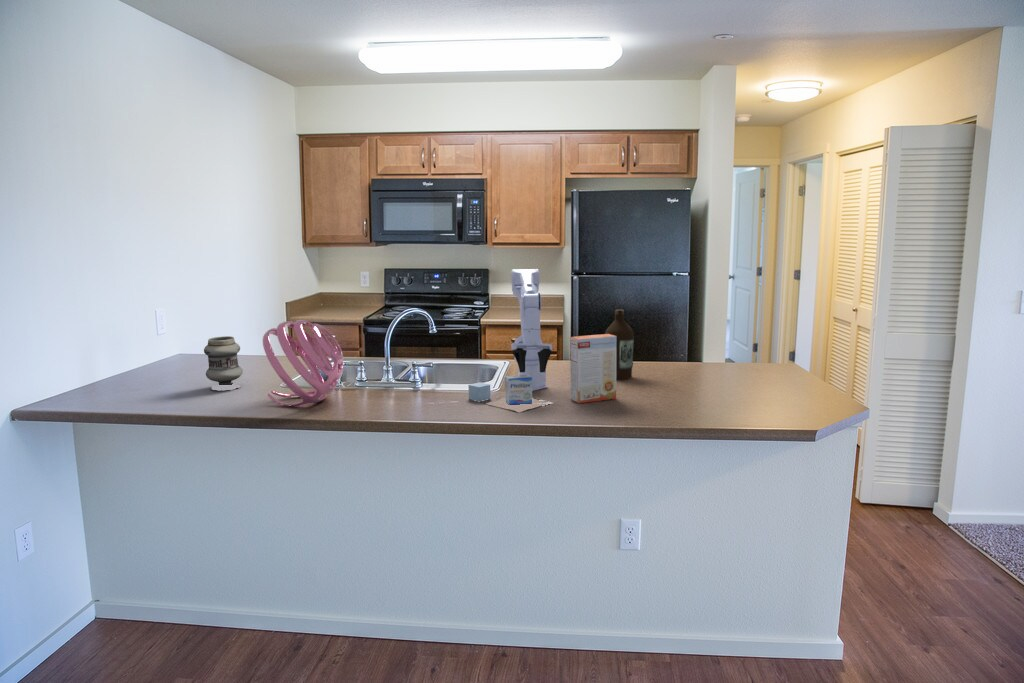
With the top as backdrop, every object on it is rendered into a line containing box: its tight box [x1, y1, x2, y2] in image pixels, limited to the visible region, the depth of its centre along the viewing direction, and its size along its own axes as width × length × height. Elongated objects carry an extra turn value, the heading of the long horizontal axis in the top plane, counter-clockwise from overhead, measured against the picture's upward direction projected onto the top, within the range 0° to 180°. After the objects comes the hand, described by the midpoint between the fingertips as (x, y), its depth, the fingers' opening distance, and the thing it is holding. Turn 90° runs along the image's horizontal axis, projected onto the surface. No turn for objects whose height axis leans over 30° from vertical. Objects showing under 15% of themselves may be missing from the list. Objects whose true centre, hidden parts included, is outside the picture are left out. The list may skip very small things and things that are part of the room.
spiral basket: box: [262, 319, 344, 407], centre depth 229 cm, size 28×28×27 cm
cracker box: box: [569, 333, 617, 404], centre depth 229 cm, size 14×6×21 cm, turn 111°
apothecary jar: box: [203, 335, 244, 385], centre depth 250 cm, size 12×12×18 cm
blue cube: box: [468, 382, 491, 402], centre depth 232 cm, size 5×5×5 cm
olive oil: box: [604, 309, 635, 381], centre depth 260 cm, size 11×11×25 cm
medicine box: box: [504, 375, 533, 405], centre depth 226 cm, size 8×4×9 cm, turn 106°
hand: (532, 372), depth 229 cm, fingers open, 7 cm apart
